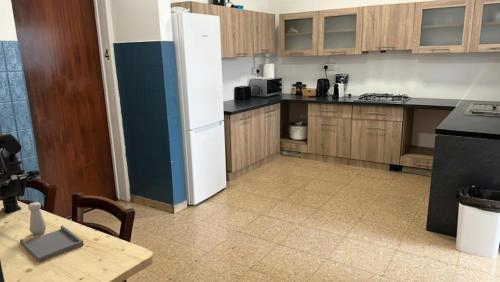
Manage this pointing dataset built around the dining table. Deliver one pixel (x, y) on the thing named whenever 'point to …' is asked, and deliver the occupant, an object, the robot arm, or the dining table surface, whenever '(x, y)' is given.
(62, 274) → the dining table surface
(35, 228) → the salt shaker
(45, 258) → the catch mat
